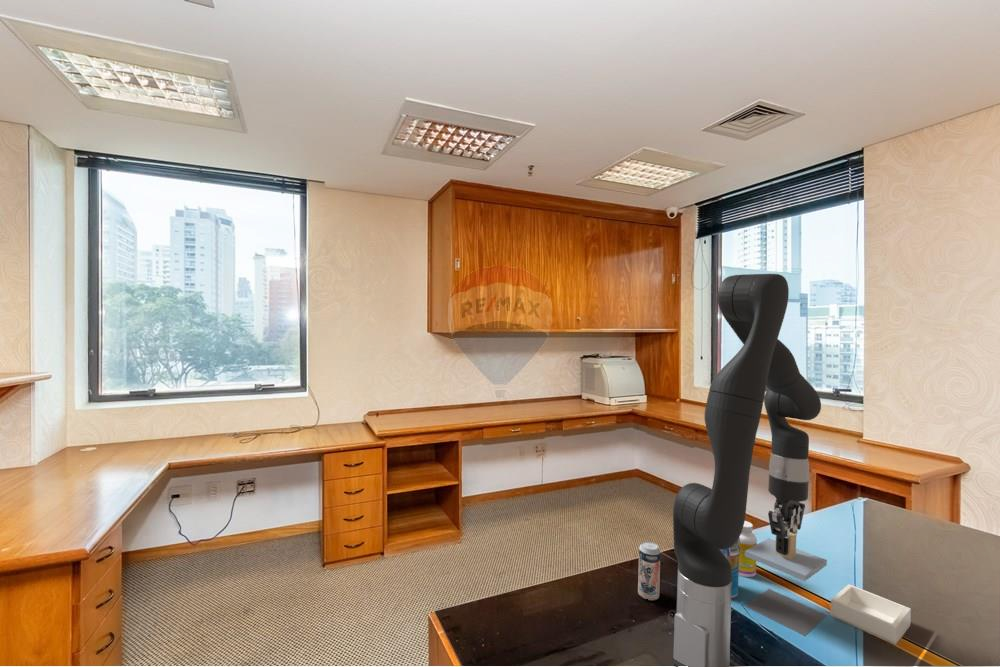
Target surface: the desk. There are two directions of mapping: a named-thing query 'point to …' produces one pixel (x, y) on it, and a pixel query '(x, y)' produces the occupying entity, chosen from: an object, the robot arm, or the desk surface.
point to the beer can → (649, 571)
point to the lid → (787, 558)
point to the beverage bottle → (733, 565)
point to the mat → (786, 611)
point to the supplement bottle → (746, 541)
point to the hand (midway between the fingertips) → (785, 550)
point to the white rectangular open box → (871, 613)
